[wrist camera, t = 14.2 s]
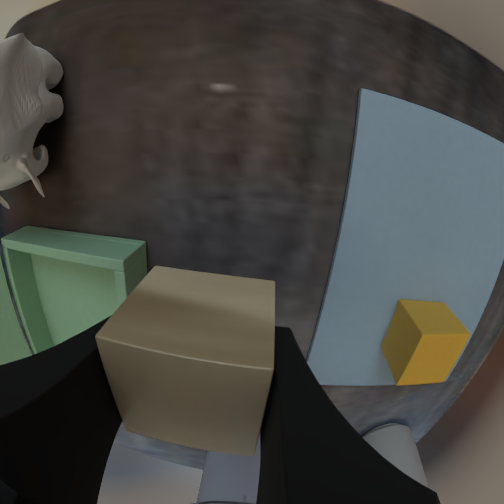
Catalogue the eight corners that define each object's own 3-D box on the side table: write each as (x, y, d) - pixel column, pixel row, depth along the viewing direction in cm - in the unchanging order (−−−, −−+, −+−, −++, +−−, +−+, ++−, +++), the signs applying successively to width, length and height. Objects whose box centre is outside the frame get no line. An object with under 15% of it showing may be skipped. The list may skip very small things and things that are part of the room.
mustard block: (423, 347, 18) (443, 382, 14) (379, 346, 18) (395, 386, 14) (443, 301, 17) (471, 334, 13) (398, 298, 17) (422, 334, 13)
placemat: (444, 377, 20) (446, 381, 19) (300, 379, 20) (300, 383, 20) (521, 155, 12) (525, 156, 12) (358, 89, 13) (361, 87, 12)
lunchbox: (146, 240, 17) (123, 260, 14) (160, 387, 22) (148, 414, 19) (27, 225, 17) (0, 238, 14) (58, 355, 22) (42, 374, 19)
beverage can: (418, 415, 22) (449, 509, 11) (394, 447, 24) (413, 530, 13) (364, 422, 22) (384, 530, 11) (345, 452, 24) (355, 544, 13)
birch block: (261, 370, 11) (254, 457, 7) (162, 354, 11) (126, 431, 7) (275, 280, 9) (274, 369, 5) (155, 264, 9) (94, 335, 6)
